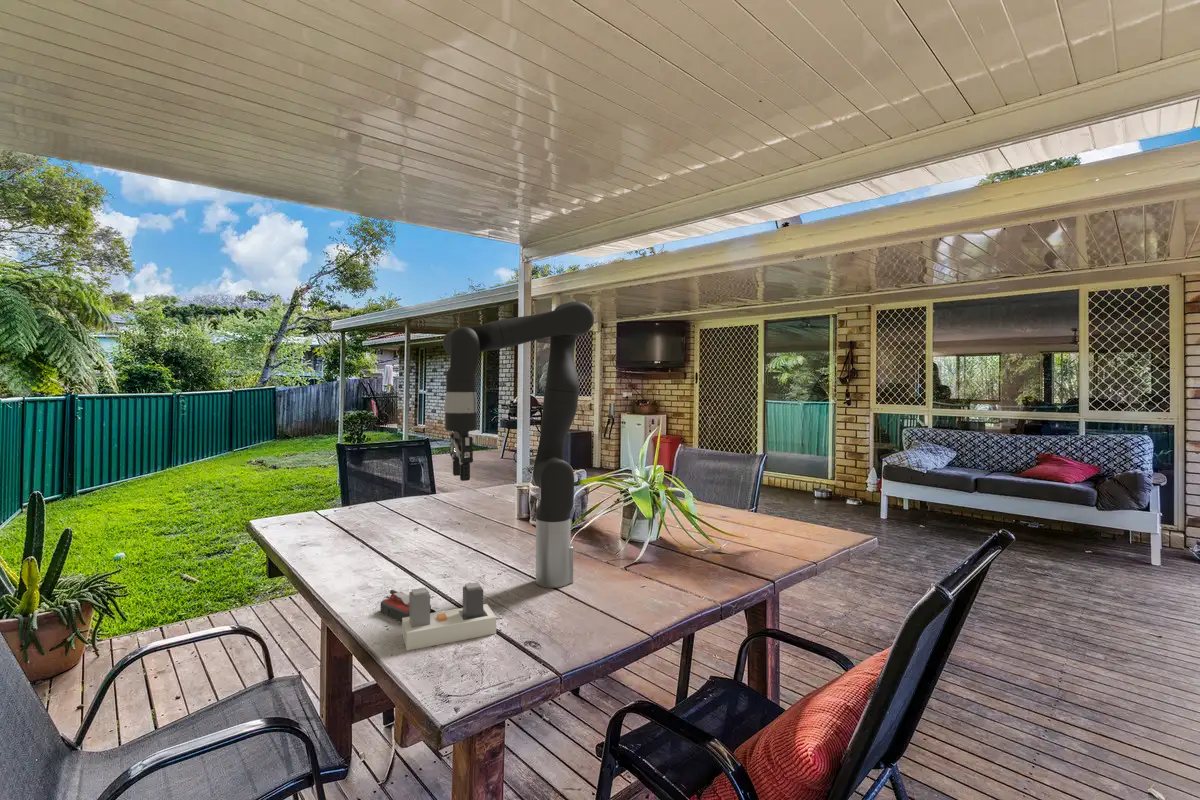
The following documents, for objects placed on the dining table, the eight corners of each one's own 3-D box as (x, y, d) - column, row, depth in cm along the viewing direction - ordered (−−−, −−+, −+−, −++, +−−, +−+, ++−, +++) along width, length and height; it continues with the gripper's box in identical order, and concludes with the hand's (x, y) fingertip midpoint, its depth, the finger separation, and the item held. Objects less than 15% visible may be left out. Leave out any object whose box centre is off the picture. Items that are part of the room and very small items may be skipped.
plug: (479, 620, 121) (479, 581, 121) (483, 626, 118) (483, 586, 118) (462, 623, 120) (462, 583, 120) (466, 630, 117) (466, 589, 117)
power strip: (486, 619, 125) (486, 574, 124) (496, 633, 117) (496, 586, 117) (402, 634, 117) (402, 586, 117) (406, 650, 110) (406, 599, 109)
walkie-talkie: (443, 615, 127) (394, 595, 139) (443, 596, 127) (394, 577, 139) (410, 628, 120) (361, 606, 133) (409, 608, 120) (361, 587, 132)
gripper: (483, 411, 129) (483, 481, 130) (470, 409, 142) (470, 472, 142) (451, 412, 126) (451, 483, 126) (440, 410, 139) (440, 474, 139)
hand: (461, 477), depth 134 cm, fingers open, 8 cm apart
